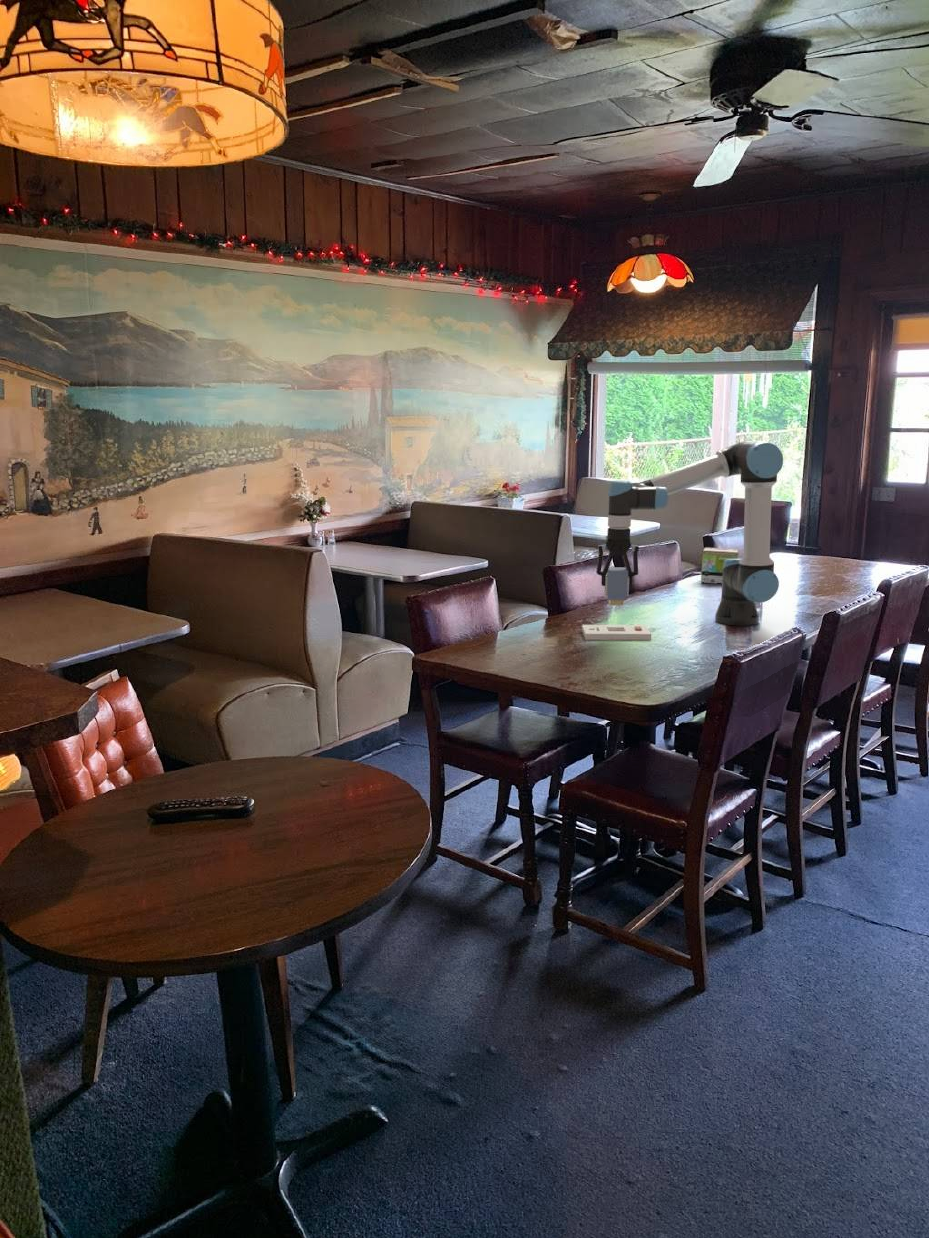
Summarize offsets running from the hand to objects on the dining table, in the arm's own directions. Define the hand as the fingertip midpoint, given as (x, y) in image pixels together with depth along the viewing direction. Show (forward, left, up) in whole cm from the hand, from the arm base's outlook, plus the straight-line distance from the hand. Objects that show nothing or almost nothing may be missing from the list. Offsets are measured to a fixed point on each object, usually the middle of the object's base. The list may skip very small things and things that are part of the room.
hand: (616, 595), depth 316 cm
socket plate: (0, 0, -14) cm, 14 cm away
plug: (0, 0, -3) cm, 3 cm away
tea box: (-57, -98, -14) cm, 114 cm away
